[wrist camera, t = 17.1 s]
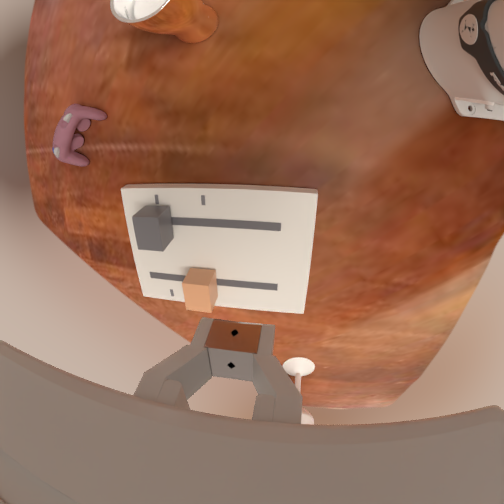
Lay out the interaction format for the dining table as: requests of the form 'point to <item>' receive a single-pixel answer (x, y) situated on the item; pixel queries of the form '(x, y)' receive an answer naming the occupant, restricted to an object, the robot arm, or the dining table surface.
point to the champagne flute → (299, 369)
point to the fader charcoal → (153, 228)
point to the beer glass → (168, 17)
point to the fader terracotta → (200, 290)
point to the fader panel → (230, 242)
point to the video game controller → (65, 134)
